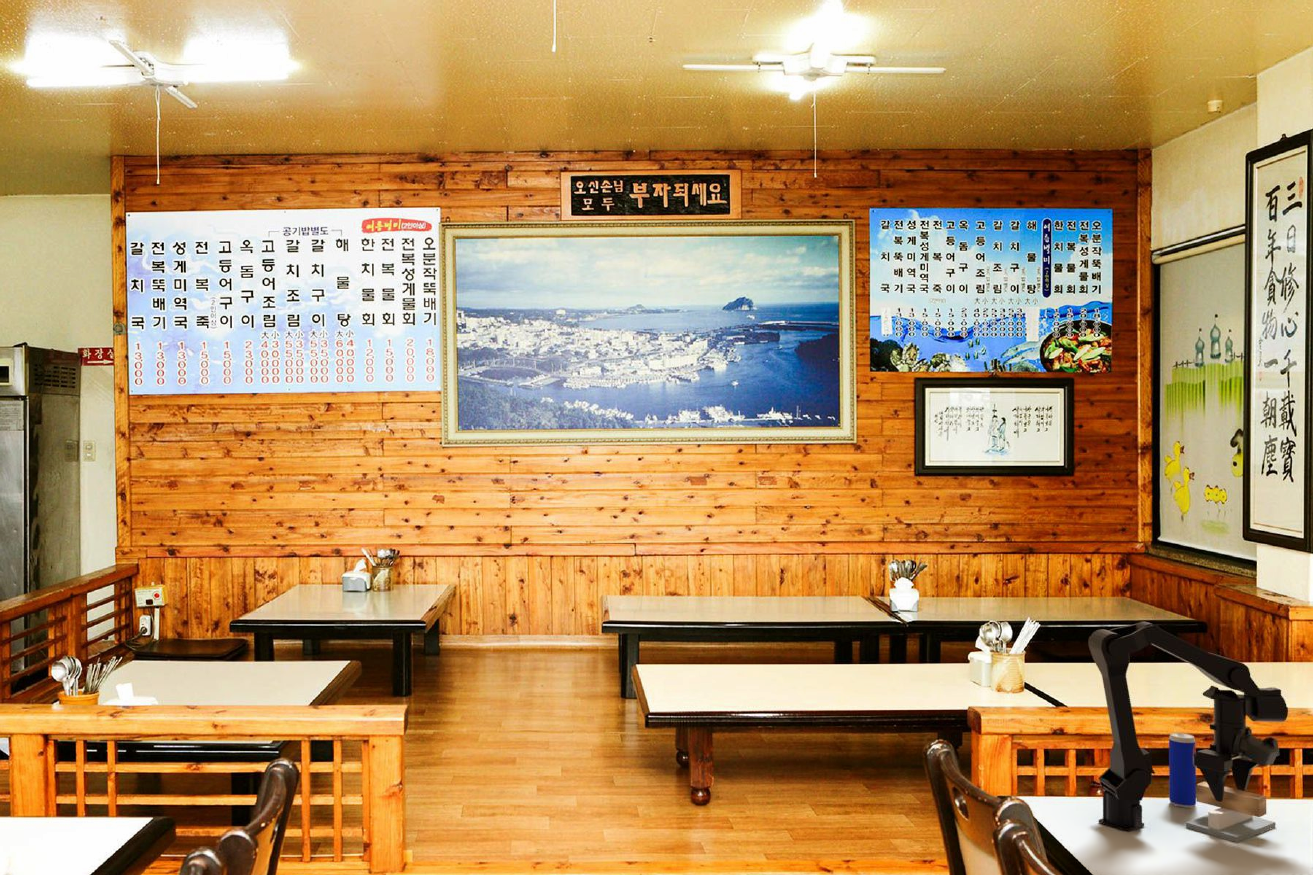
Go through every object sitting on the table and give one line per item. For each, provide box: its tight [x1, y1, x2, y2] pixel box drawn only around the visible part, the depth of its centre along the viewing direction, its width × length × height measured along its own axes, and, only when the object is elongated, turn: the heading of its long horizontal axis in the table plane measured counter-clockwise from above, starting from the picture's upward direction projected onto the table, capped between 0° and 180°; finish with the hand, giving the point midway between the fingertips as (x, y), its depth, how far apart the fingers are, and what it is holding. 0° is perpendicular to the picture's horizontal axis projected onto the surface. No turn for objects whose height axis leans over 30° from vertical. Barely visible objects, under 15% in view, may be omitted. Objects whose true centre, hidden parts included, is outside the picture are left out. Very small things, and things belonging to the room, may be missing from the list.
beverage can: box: [1168, 732, 1197, 809], centre depth 219 cm, size 5×5×15 cm
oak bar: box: [1196, 781, 1267, 818], centre depth 205 cm, size 12×4×4 cm, turn 38°
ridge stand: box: [1185, 807, 1276, 843], centre depth 205 cm, size 10×16×4 cm, turn 125°
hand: (1230, 797), depth 205 cm, fingers open, 9 cm apart
